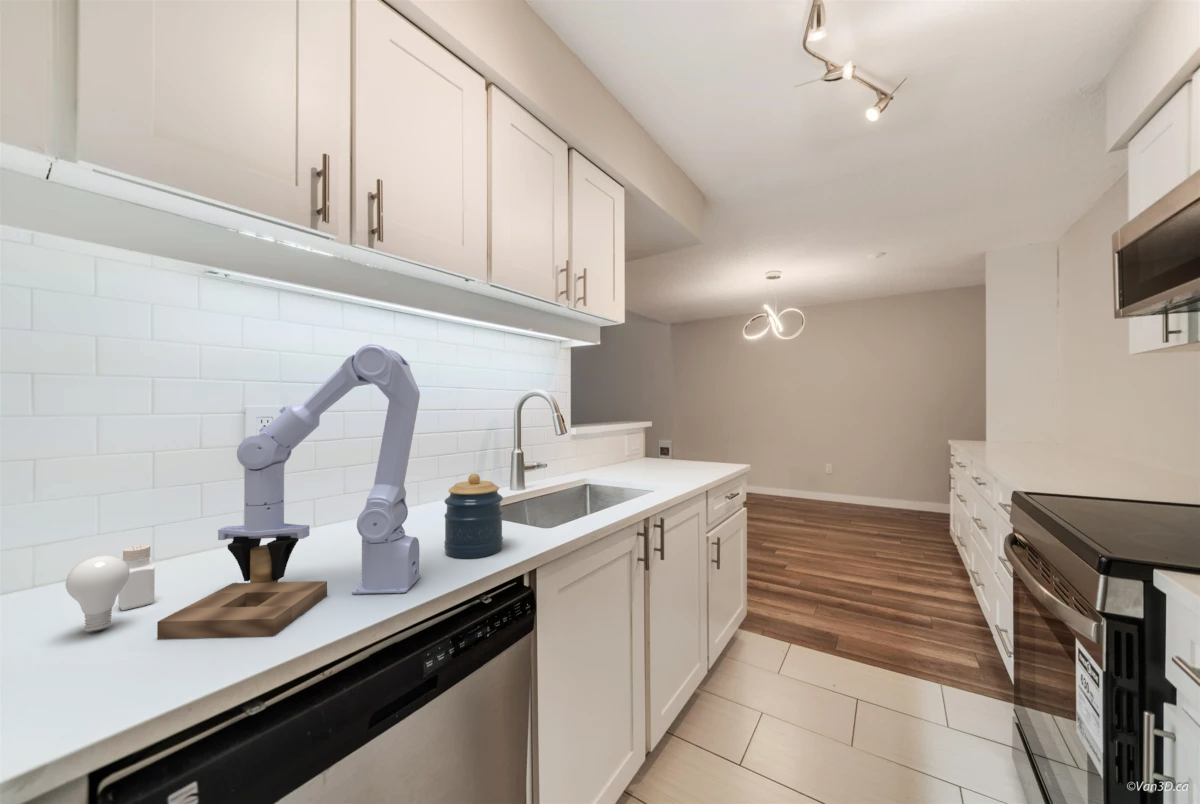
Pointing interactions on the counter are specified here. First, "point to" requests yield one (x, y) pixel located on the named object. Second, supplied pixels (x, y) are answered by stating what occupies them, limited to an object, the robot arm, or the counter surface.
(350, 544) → the counter surface
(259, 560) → the peg
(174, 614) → the socket board
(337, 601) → the counter surface
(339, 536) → the counter surface
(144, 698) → the counter surface
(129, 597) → the salt shaker
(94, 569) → the lightbulb
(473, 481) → the canister
